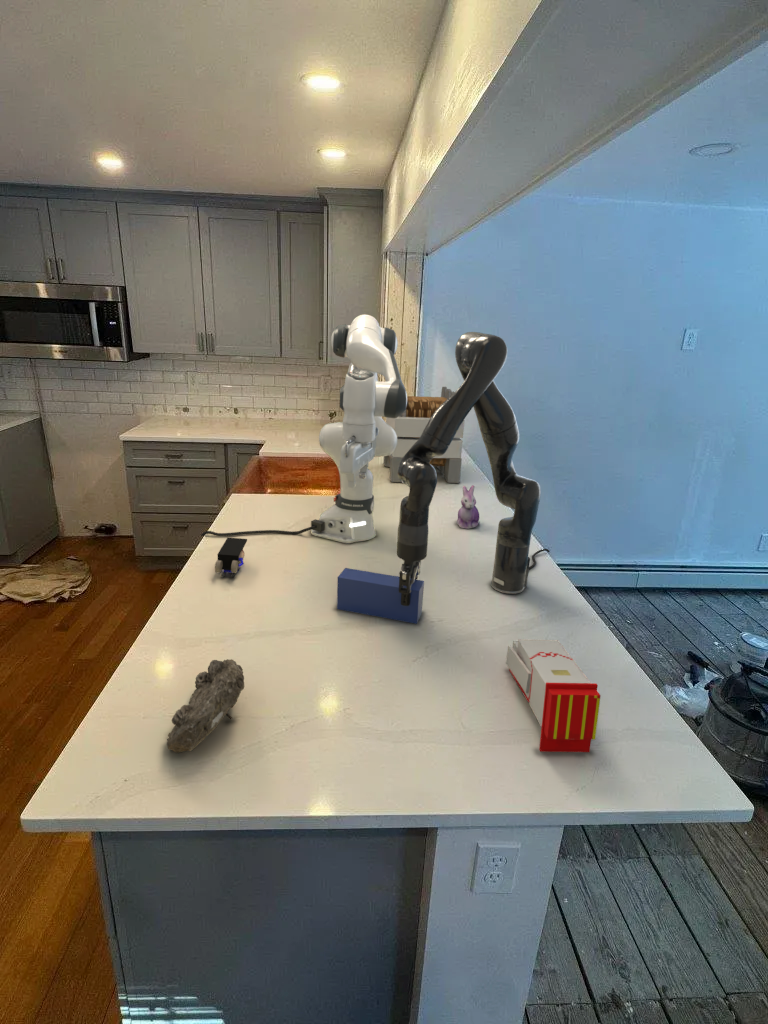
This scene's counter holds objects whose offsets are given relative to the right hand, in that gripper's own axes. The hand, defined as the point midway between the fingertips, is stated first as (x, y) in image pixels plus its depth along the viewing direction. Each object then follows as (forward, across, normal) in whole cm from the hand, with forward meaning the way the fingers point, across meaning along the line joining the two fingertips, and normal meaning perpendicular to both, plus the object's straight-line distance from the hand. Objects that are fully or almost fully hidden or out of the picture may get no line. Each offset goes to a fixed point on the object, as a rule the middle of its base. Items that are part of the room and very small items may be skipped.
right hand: (408, 598), depth 145 cm
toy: (+5, -25, -34) cm, 43 cm away
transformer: (+5, +134, +27) cm, 137 cm away
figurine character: (+5, +8, +55) cm, 56 cm away
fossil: (+5, -50, +26) cm, 56 cm away
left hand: (-24, +17, +20) cm, 35 cm away
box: (+5, 0, +8) cm, 9 cm away
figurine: (+5, +72, -6) cm, 73 cm away
